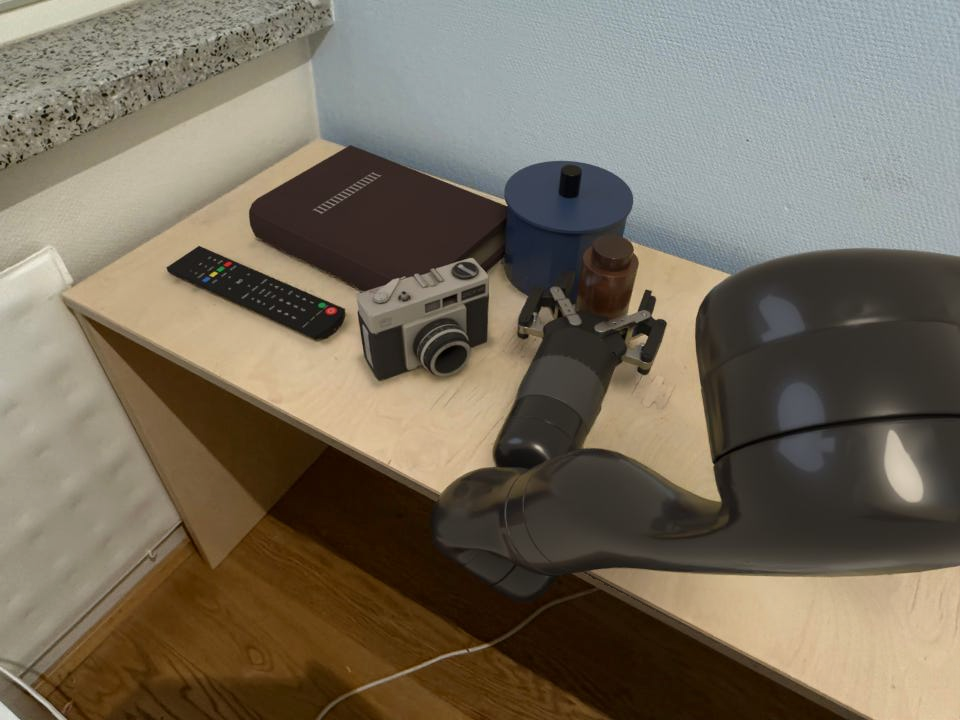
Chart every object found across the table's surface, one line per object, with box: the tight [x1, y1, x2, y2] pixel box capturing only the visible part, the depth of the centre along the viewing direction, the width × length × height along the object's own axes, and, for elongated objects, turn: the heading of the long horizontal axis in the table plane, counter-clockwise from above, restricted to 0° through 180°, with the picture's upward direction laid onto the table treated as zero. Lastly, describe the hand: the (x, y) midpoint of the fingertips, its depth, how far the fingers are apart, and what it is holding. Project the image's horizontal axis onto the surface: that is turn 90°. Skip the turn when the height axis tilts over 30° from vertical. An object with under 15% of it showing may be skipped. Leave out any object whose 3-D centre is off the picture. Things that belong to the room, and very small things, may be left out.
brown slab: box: [248, 144, 507, 292], centre depth 86 cm, size 28×20×6 cm
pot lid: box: [503, 160, 634, 234], centre depth 77 cm, size 15×15×4 cm
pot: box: [503, 205, 628, 305], centre depth 82 cm, size 14×14×10 cm
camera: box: [356, 258, 490, 382], centre depth 70 cm, size 14×9×10 cm, turn 111°
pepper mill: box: [574, 235, 640, 320], centre depth 71 cm, size 6×6×14 cm
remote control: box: [165, 245, 346, 341], centre depth 80 cm, size 5×24×1 cm, turn 60°
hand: (608, 285), depth 72 cm, fingers open, 8 cm apart
